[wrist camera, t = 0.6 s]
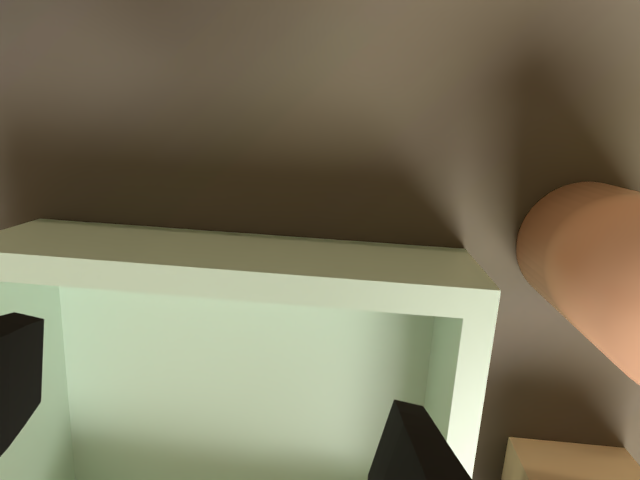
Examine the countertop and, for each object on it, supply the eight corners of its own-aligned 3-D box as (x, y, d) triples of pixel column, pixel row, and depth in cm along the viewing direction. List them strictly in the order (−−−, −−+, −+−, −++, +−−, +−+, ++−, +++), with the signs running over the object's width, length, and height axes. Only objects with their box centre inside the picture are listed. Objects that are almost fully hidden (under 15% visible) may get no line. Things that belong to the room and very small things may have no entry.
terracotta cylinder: (632, 307, 19) (781, 407, 13) (507, 298, 20) (586, 390, 13) (660, 185, 18) (841, 222, 11) (526, 177, 18) (625, 209, 12)
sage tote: (427, 531, 23) (446, 642, 18) (64, 492, 24) (-11, 586, 19) (464, 248, 19) (500, 290, 14) (39, 218, 20) (-60, 248, 16)
